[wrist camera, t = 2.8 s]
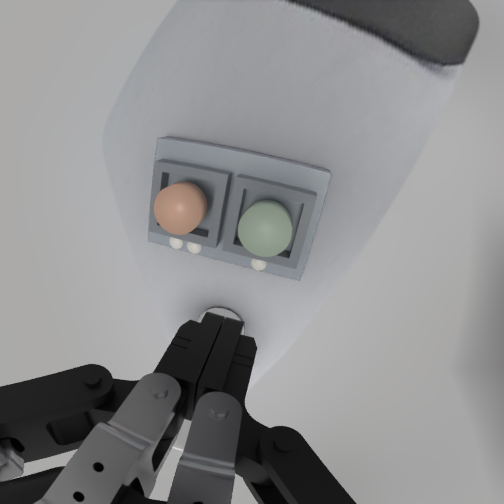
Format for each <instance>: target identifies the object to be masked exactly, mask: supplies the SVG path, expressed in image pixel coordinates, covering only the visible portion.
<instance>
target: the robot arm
mask: <svg viewBox="0 0 504 504" xmlns="http://www.w3.org/2000/svg"><path fill="white" fill-rule="evenodd" d="M243 325H244V322H243V321H239V320H236V319H232V318H229V317H226V318H225V316H221V315H218V314H214V313H211V312H208V311H207V312H206V313H205V315H204V317H203V319H202V321H201V323H199V322H196V321H193V320H189V321H188V322H186V323H185V324H183V325H182V326H180V328H179V330H178V331H177V333H176V335H175V337H174V338H173V340H172V342H171V344H170V345H169V347H168V348H167V350H166V352H165V353H164V355H163V357H162V359H161V360H160V362H159V364H158V365H157V367H156V369H155V370H154V372H153V373H151V374H147V375H145V376H144V377H142V378H141V379H140V380H137V381H128V380H120V379H113V378H112V375H111V373H110V372H109V371H108V370H107V369H106V368H105V367H103V366H100V365H96V364H88V365H84V366H80V367H77V368H73V369H69V370H66V371H62V372H58V373H55V374H51V375H47V376H43V377H39V378H35V379H31V380H27V381H23V382H19V383H14V384H10V385H6V386H2V387H0V504H231V499H232V492H233V486H234V479H235V473H236V474H238V475H239V476H241V477H243V480H244V482H245V483H246V485H247V487H248V488H249V490H250V491H251V493H252V494H253V496H254V498H255V499H256V501H257V502H258V504H356V503H355V501H354V500H353V499H352V498H351V497H350V496H349V494H348V493H347V492H346V491H345V490H344V488H343V487H342V486H341V485H340V484H339V483H338V481H337V480H336V479H335V477H334V476H333V475H332V474H331V473H330V472H329V470H328V469H327V467H326V466H325V465H324V464H323V463H322V461H321V460H320V459H319V457H318V456H317V455H316V454H315V452H314V451H313V450H312V449H311V447H310V446H309V445H308V443H307V442H306V441H305V439H304V438H303V437H302V435H301V434H299V432H297V431H296V430H294V429H292V428H289V427H286V426H275V427H272V428H268V427H266V426H264V425H263V424H260V423H259V422H257V421H256V420H254V419H253V418H252V417H251V416H250V415H249V414H248V412H247V410H246V408H245V396H246V392H247V388H248V384H249V380H250V376H251V372H252V367H253V364H254V359H255V355H256V351H257V346H256V343H255V340H254V338H252V337H248V336H245V335H241V333H242V329H243ZM192 418H193V419H192ZM184 419H186V420H189V421H192V422H191V426H190V429H189V433H188V436H187V440H186V444H185V447H184V451H183V454H182V456H181V458H180V460H179V462H178V465H177V469H176V472H175V476H174V480H173V483H172V487H171V490H170V494H169V497H168V501H167V502H166V501H159V500H152V499H149V496H150V494H151V492H152V490H153V488H154V486H155V482H156V478H157V475H158V473H159V471H160V469H161V468H162V466H163V464H164V462H165V460H166V458H167V456H168V454H169V452H170V451H171V449H172V447H173V445H174V443H175V441H176V439H177V437H178V435H179V431H180V429H181V427H182V424H183V422H184ZM75 449H78V450H77V451H76V452H75V454H74V455H73V457H72V458H71V459H70V461H69V462H68V463H67V465H66V466H62V467H56V468H52V469H49V470H45V471H42V472H38V473H35V474H31V475H28V476H24V477H20V478H16V479H13V478H15V477H17V476H21V475H22V474H23V471H24V470H23V468H24V463H26V462H31V461H34V460H39V459H43V458H47V457H51V456H54V455H58V454H61V453H64V452H68V451H72V450H75ZM11 479H12V480H11Z"/></svg>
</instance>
